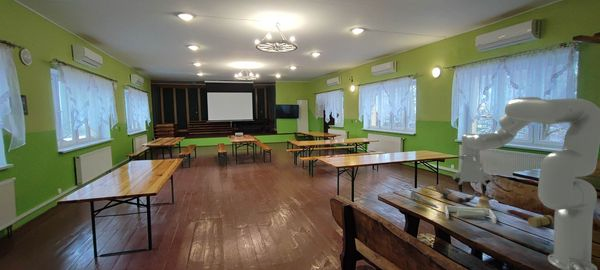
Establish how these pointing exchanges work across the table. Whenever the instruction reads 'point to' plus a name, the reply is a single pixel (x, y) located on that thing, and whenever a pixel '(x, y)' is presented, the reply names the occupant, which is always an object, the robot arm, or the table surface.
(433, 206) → the caliper
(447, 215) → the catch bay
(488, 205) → the hand bell
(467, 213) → the pale green block
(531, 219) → the gavel
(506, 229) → the table surface
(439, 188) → the antique flintlock pistol
